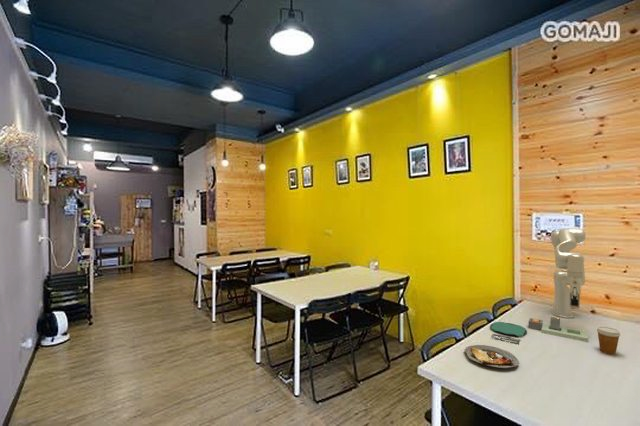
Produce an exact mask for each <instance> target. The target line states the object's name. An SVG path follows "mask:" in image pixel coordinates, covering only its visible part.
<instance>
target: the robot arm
mask: <svg viewBox="0 0 640 426" xmlns="http://www.w3.org/2000/svg"><path fill="white" fill-rule="evenodd" d="M585 240H586V232H585V230H583V229H582V228H570V227H569V228H561V229H560V230H554V231H552V232H551V233H550V241H551V245H552V246H553V249H554V259H555V260H554V262H555V266H556V268H558V269H561V270H556V271H554V272H553V282H554V305H553V307H552V309H554V310H552V311H551V314H552V315H553V316H556V317H558V318H564V319H572V318H574V317H575V315H574V314H573V313H572V307H570V292H571V294H572V298H571V305H573V306H578V294H579V295H581V294H582V293H581V291H582V286H584V285H585V283H586V276H585V256H584V255H583V254H582V253H580V252H570V251H573V250H574V249H576V248H577V246H578V245H577V244H580V243H582V242H584V241H585ZM573 293H574V294H573ZM576 293H577V294H576ZM576 297H577V298H576Z"/></svg>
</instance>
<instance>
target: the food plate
mask: <svg viewBox="0 0 640 426" xmlns="http://www.w3.org/2000/svg"><path fill="white" fill-rule="evenodd" d="M464 351H465V354H466V355H467V357H468V358H469V359H470V360H471V361H472V362H475V363H477V364H480V365H481V366H486V367H492V368H497V369H511V368H516V367H518V366H519V365H520V361H519V360H518V358H517V357H516V356H515V355H514V354H513V353H512V352H510V351H508V350H504V349H502V348H500V347H497V346H491V345H486V344H475V345H468V346H465V349H464ZM486 353H487V354H486ZM496 353H497V354H496ZM497 355H499V356H497ZM490 358H492V359H493V360H491V359H490Z"/></svg>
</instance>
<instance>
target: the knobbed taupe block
mask: <svg viewBox="0 0 640 426" xmlns="http://www.w3.org/2000/svg"><path fill="white" fill-rule="evenodd" d="M573 294H574V293H573ZM576 294H577V293H576ZM580 295H581V294H580ZM580 295H579V294H578V306H573V305H571V298H572V294H571V292H570V307H571V308H577V309H580V297H581V296H580ZM576 298H577V297H576Z"/></svg>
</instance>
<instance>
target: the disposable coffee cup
mask: <svg viewBox="0 0 640 426" xmlns="http://www.w3.org/2000/svg"><path fill="white" fill-rule="evenodd" d="M596 331H597V336H598V345H599V351H600V352H602V353H603V354H607V355H608V354H609V355H616V354H617V349H618V343H619V339H620V336H621V333H620V331H619V330H618V329H617V328H616V329H615V328H612V327H610V326H609V327H608V326H598V327H597V328H596Z"/></svg>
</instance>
